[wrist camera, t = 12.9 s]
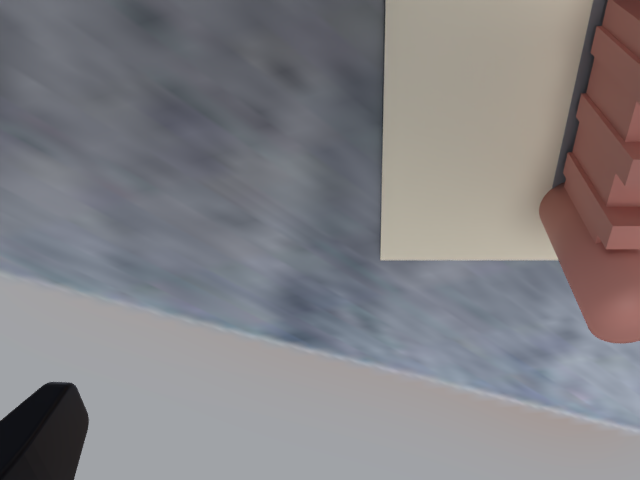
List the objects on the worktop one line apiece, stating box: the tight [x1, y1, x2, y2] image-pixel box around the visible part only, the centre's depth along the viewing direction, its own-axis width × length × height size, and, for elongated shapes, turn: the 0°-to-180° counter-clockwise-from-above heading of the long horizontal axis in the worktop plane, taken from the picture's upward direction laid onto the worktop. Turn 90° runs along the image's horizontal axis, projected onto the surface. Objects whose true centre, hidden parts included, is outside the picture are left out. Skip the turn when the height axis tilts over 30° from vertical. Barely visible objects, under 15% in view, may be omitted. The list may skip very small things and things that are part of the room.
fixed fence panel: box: [539, 0, 640, 343], centre depth 16 cm, size 12×2×6 cm, turn 3°
